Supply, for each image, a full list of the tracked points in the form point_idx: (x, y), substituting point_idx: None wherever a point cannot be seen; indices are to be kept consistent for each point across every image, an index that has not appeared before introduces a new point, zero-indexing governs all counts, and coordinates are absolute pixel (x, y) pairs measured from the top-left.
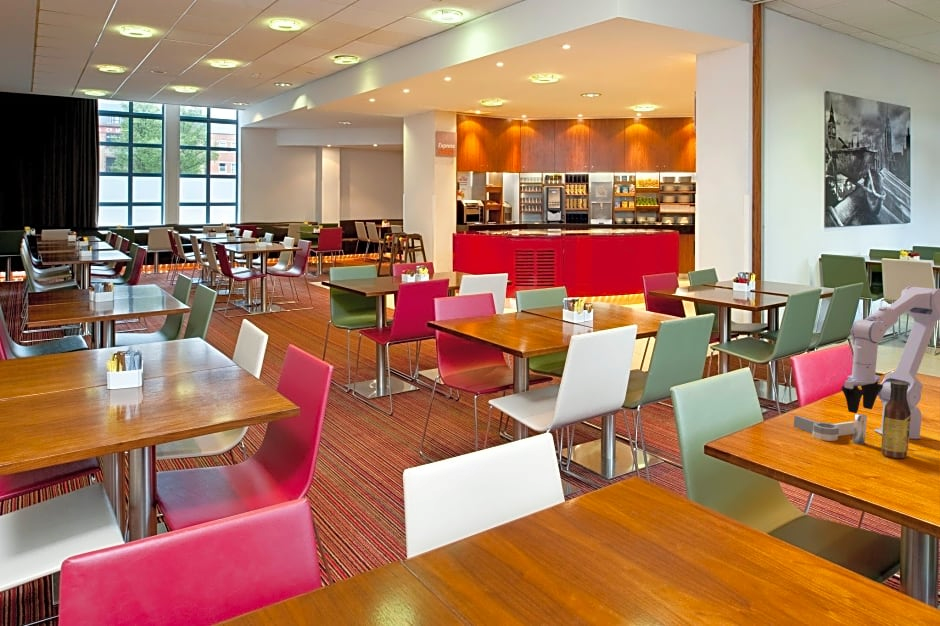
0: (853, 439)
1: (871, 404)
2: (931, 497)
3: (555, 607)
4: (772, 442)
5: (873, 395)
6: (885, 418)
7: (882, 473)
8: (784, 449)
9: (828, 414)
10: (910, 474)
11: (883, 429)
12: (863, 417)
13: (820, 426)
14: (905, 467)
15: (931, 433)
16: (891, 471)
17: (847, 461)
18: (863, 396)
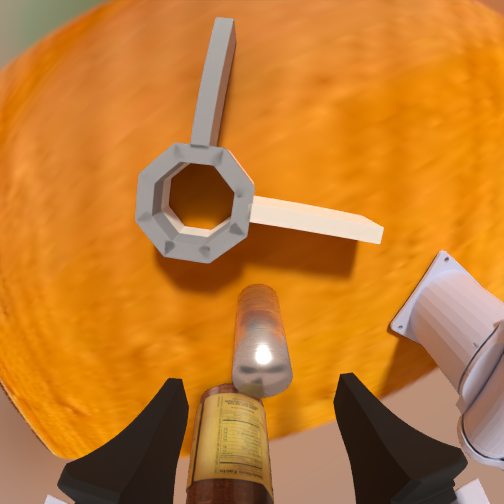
0: (240, 298)
1: (339, 425)
2: None
3: None
4: (12, 160)
5: (356, 471)
6: (189, 482)
7: (102, 416)
8: (3, 223)
9: (478, 63)
10: None
11: (197, 446)
12: (245, 392)
13: (150, 202)
14: None
15: None
16: (127, 423)
17: (79, 359)
18: (367, 419)
